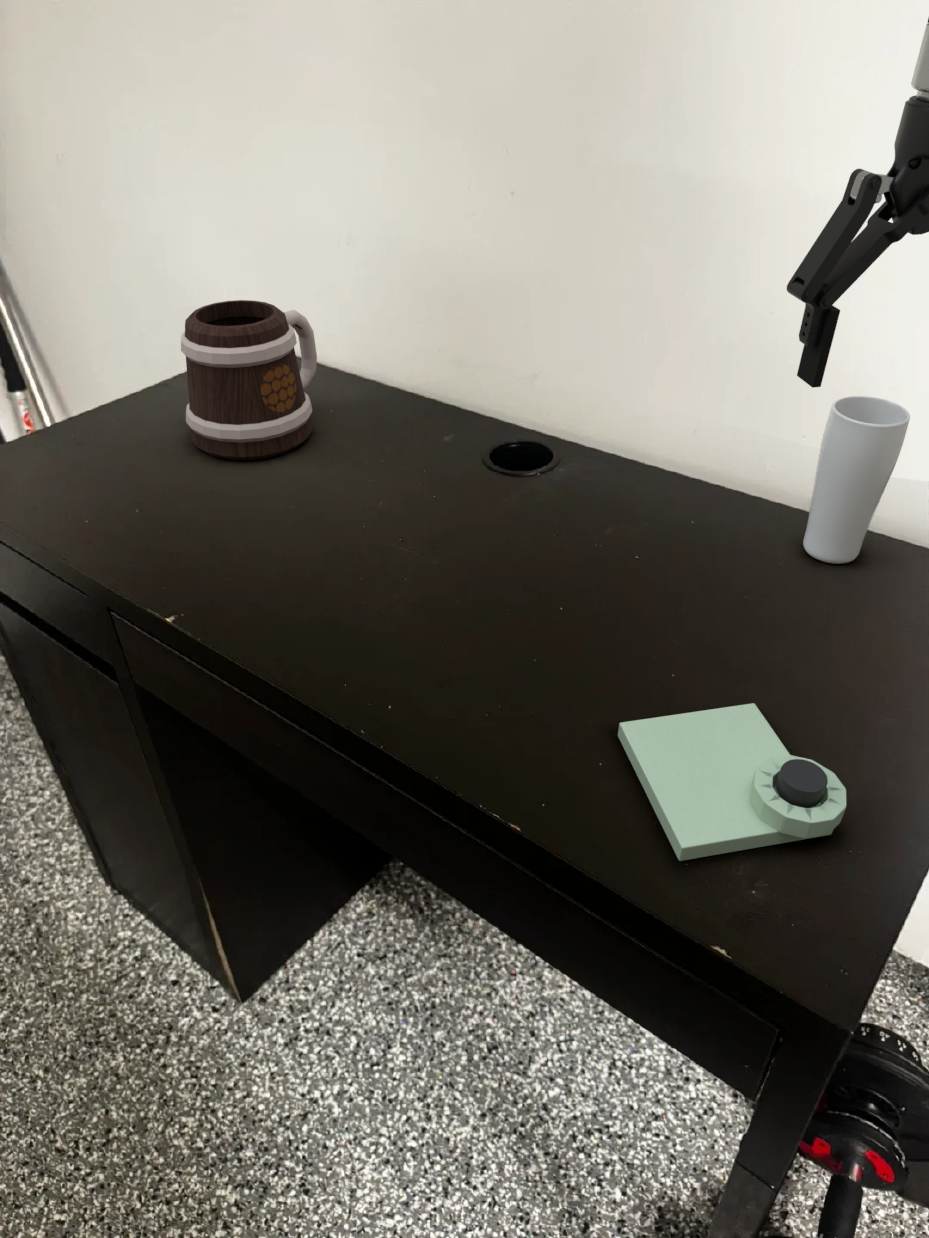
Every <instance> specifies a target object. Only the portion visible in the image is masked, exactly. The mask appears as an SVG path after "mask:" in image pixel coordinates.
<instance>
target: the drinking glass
mask: <svg viewBox="0 0 929 1238" xmlns="http://www.w3.org/2000/svg"><path fill="white" fill-rule="evenodd" d="M910 420H911V415H910V413H909V411H908V410H907V409H906V408H905V407H904V406H902V405H900V404H898V403H896V402H894V401H890V400H887V399H883V398H879V397H874V396H867V395H850V396H843V397H841V398H840V397H839V398H838V399H836V400H835V401H833V403H832V404H831V407H830V410H829V413H828V417H827V419H826V422H825V426H824V430H823V433H822V437H821V442H820V448H819V452H818V458H817V464H816V470H815V476H814V477H815V478H814V483H813V488H812V495H811V499H810V500H811V501H810V507H809V512H808V518H807V524H806V528H805V532H804V537H803V539H802V546H803V549H804V551H805V552H806V553H807V554H808V555H809V556H810V557H812V558H813V559H816V560H818V561H821V562H823V563H826V564H834V565H840V564H848V563H850V562H853V561H854V560H855V559H857V557H859V555H860V553H861V549H862V546H863V543H864V540H865V537H866V535H867V533H868V530H869V528H870V525H871V523H872V522H873V521H872V520H873V518H874V516H875V513H876V512H877V509H878V507H879V505H880V503H881V500H882V498H883V495H884V493H885V490H886V488H887V486H888V483H889V481H890V479H891V476H892V475H893V472H894V470H895V467H896V465H897V462H898V459H899V458H900V453H901V451H902V448H903V444H904V441H905V438H906V434H907V431H908V428H909V422H910Z"/></svg>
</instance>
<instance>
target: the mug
mask: <svg viewBox="0 0 929 1238" xmlns="http://www.w3.org/2000/svg"><path fill="white" fill-rule="evenodd" d="M295 332H296V333H295ZM296 334H297V335H298V342H297V336H296ZM297 343H299V349H300V350H299V351H300V356H301V361H300V362H301V363H300V365H301V366H300V368H299V364H298V360H297V354H296V350H295V346H296V344H297ZM180 351H181V353H183V355H184V356H185V366H186V377H187V379H186V380H187V390H188V403H187V404H186V409H185V422H186V424H187V426H189V430H190V431H189V432H190V440H191V441H192V442H193V444H194V446H196V448H198V449H200V450H201V451H203V452H204V453H206V454H208V455H211V456H213V457H217V458H221V459H225V460H235V461H236V460H237V461H252V460H260V459H261V460H262V459H267V458H271V457H276V456H280V455H283V454H285V453H287V452H290V451H292V450H295V449H296V448H297V447H299V446H300V445H301V444H303V443H304V442H305V441H306V440H307V439H308V438H309V436H310V434H311V433H312V431H313V424H312V418H311V415H312V413H313V407H312V402H311V398H310V396H309V395H308V394H307V393H306V392H305V389H307V388H308V387H309V385H310V383H311V381H312V380H313V378H314V376H315V374H316V373H317V363H318V355H317V346H316V340H315V333H314V330H313V328H312V326H311V324H310V322H309V321H308V318H307V317H306V316H304V315H303V314H302V313H300V312H299V311H297V310H295V309H291V310H287V311H283V310H282V309H280V308H278V307H277V306H276V305H274V304H271V303H268V302H265V301H260V300H259V301H258V300H250V299H249V300H247V299H235V300H225V301H219V302H213V303H211V304H207V305H202V306H201V307H198V308H197V309H195V310H193V312H192V313H190V315H189V316H188V317H187V318H186V319H185V321H184V331H183V332H182V334H181V336H180Z"/></svg>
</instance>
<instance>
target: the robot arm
mask: <svg viewBox="0 0 929 1238" xmlns="http://www.w3.org/2000/svg"><path fill="white" fill-rule="evenodd" d="M920 43H921V44H920V48H919V51H918V55H917V59H916V62H915V66H914V69H913V74H912V78H911V81H910V85H911V86H912V88H913V89H914V90H916V91H917V92H916V95H912V96H910V97H909V98H908V100H906V101H904V106H903V109H902V113H901V118H900V121H899V125H898V129H897V133H896V136H895V140H894V145H893V147H894V160H893V163H892V165H891V167H890V169H889V170H888V172H887V173H886V174H881V173H874V172H872V171H868V170H865V169H863V168H856V169H854V170H853V171H852V172H851V174H850V175H849V178H848V182H847V185H846V187H845V190H844V193H843V196H842V199H841V201H840V203H839V204H838V206H837V207H836V209H835V210H834V212H833V213H832V215H831V216H830V218H829V219H828V221H827V222H826V224H825V226H824V227H823V228H822V230H821V232H820V233H819V235H818V236H817V238H816V240H815V241H814V243H813V244H812V246H811V247H810V249H809V250H808V252H807V254H806V255H805V256H804V258H803V259H802V261H801V262H800V264H799V266H798V267H797V269H796V270H795V272H794V273H793V275H792V276H791V277H790V280H789V281H788V283H787V285H786V291H787V293H789V295H792V296H793V297H794V298H796V299H797V300H799V301H800V302H802V303H804V304H805V306H804V311H803V314H802V320H801V324H800V329H799V332H798V339H799V342H800V343H802V344H803V349H802V353H801V357H800V360H799V364H798V369H797V372H796V373H797V374H796V376H797V377H798V378H799V379H801V380H802V381H803V382H805V384H807V385H808V386H809V387H811V388H821V387H822V383H823V380H824V379H823V378H824V375H825V373H826V372H825V371H826V367H827V363H828V360H829V356H830V351H831V348H832V344H833V340H834V337H835V333H836V328H837V324H838V322H839V317H840V314H841V309H839V308H838V307H836V306H835V305H834V304H835V303H836V302H837V301H839V299H840V298H841V297H842V296H843V295H844V294H845V293H846V292H847V290H848V289H849V288H851V286H853V284H855V282H856V281H857V280H858V279H859V278H861V276H862V275H863V274H864V273H865V272H866V271H867V270H868V269H869V268H870V267H871V266H872V265H873V264H874V263H875V262H876V260H878V258H880V256H881V255H882V254H883V253H884V252H885V251H886V250H887V249H889V247H890V246H892V244H895V243H898V242H899V241H901V240H902V239H903V238H904V237H905V236H906V235H907V234H910V235H912V236H916V235H917V236H918V235H923V234H926V233H929V17H928V19H927V23H926V24H925V29H924V32H923V36H922V40H921V42H920ZM883 197H884V202H883V203H882V204H881V205H880V206H879V207H878V208H877V209H876V210H875V211H874V212H873V214H871V213H872V211H873V209H874V206H875V205H876V204H880V203H881V202H882V200H883ZM870 214H871V216H870ZM869 216H870V217H869ZM890 220H892V222H891V221H890ZM865 223H867V224H866V226H865V227H864V228H863V229H862V227H863V225H864V224H865ZM861 229H862V231H860V230H861ZM859 231H860V232H859ZM858 233H859V234H858ZM857 234H858V235H857Z"/></svg>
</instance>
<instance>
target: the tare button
mask: <svg viewBox="0 0 929 1238" xmlns="http://www.w3.org/2000/svg"><path fill="white" fill-rule="evenodd" d="M827 783H828V779H827V776H826V774H825V772H824V771H823V770H822V769H821V768H820V767H819V766H818V765H816V764H814V763H812V762H810V761H807V760H802V759H793V760H789V761H787V762H785V763H784V764H783V765H782V767H781V769H780V773H779V776H778V779H777V782H776V789H777V792H778V794H779V795H780V797H781V798H782V799H783V800H785V801H786V802H788V803H789V804H791V805H794V806H798V807H803V808H810V807H814V806H816V805H818V804H819V803H820V802H821V800H822V798H823V795H824V792H825V789H826V786H827Z"/></svg>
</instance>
